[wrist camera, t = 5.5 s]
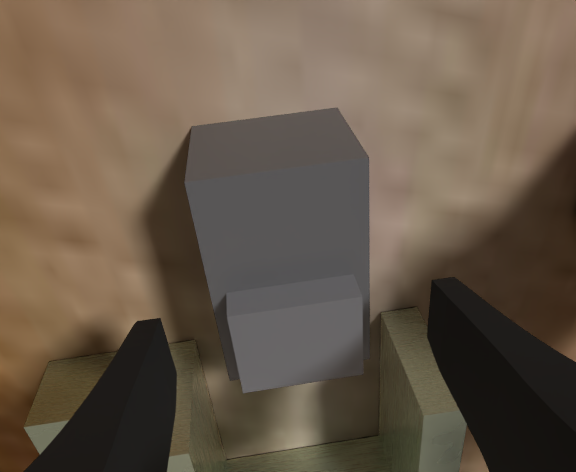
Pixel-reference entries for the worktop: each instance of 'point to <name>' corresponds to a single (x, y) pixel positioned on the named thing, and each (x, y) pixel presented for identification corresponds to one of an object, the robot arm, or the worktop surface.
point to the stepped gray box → (284, 245)
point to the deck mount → (303, 461)
